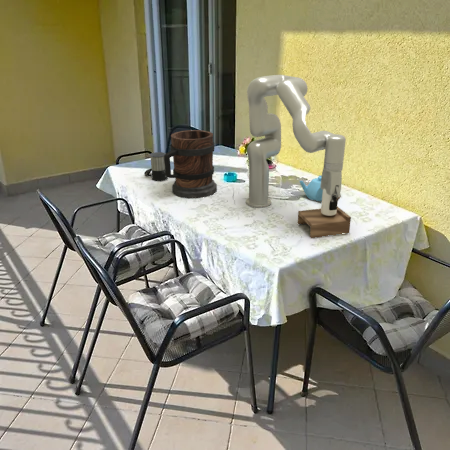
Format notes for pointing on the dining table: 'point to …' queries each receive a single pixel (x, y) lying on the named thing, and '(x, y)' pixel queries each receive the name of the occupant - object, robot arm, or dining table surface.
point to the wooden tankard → (191, 164)
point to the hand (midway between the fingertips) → (329, 206)
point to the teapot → (313, 189)
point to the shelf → (325, 222)
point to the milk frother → (157, 167)
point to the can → (327, 204)
